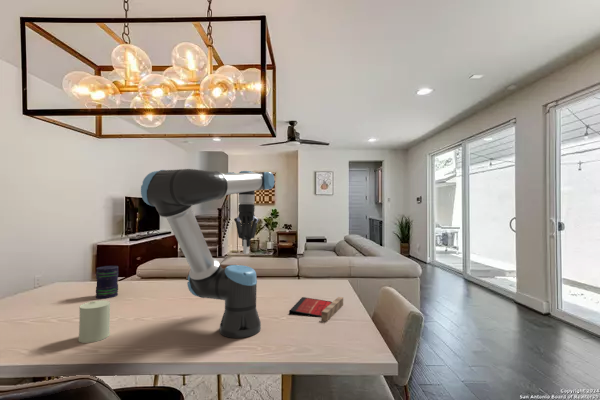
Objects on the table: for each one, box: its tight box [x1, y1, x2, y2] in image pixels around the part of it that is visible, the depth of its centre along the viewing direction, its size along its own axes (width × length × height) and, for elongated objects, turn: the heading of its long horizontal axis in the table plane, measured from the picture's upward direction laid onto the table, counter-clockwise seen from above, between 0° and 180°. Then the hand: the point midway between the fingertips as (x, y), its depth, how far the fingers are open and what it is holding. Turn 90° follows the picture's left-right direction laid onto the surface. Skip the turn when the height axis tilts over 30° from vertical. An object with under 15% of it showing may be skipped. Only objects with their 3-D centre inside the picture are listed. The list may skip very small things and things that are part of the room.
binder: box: [288, 296, 333, 318], centre depth 138 cm, size 16×2×21 cm
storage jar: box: [95, 265, 120, 300], centre depth 156 cm, size 10×10×15 cm
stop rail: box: [321, 296, 344, 322], centre depth 133 cm, size 23×2×4 cm, turn 155°
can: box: [78, 300, 111, 344], centre depth 106 cm, size 9×9×12 cm
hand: (246, 253), depth 143 cm, fingers closed
